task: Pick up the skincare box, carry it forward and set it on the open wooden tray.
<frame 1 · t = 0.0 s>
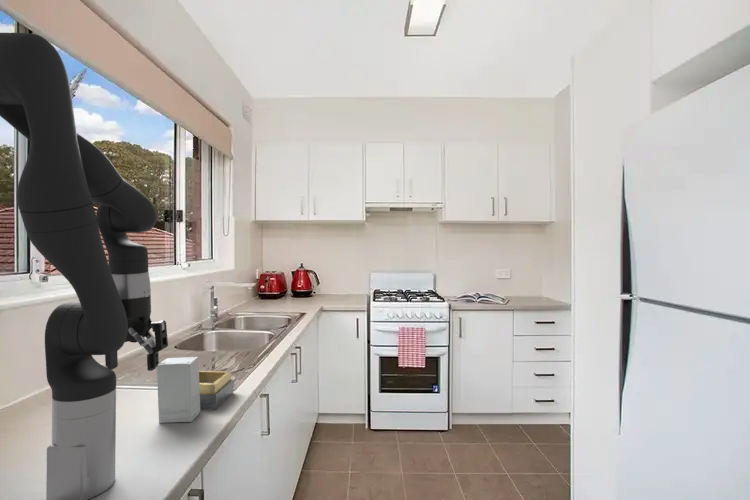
hand: (132, 368, 83), 17 cm above the countertop, tool pointing down, fingers open, 8 cm apart
skincare box: (178, 419, 98), on the countertop
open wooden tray: (200, 400, 110), on the countertop
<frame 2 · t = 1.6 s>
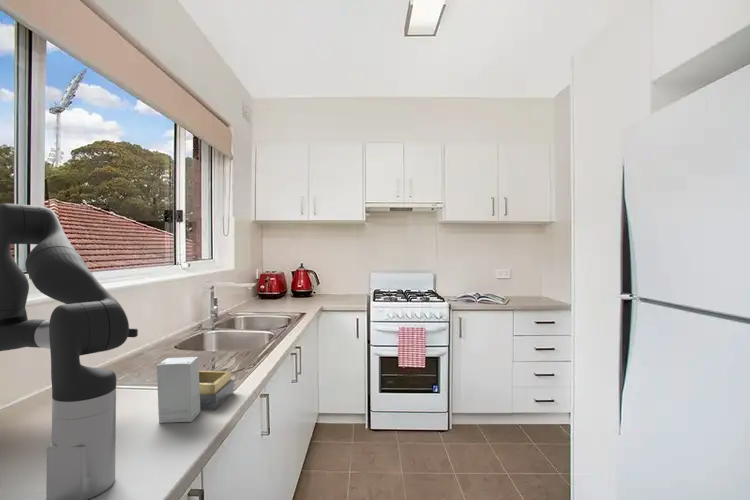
hand: (125, 336, 99), 20 cm above the countertop, tool horizontal, fingers open, 8 cm apart
nothing on the countertop moved.
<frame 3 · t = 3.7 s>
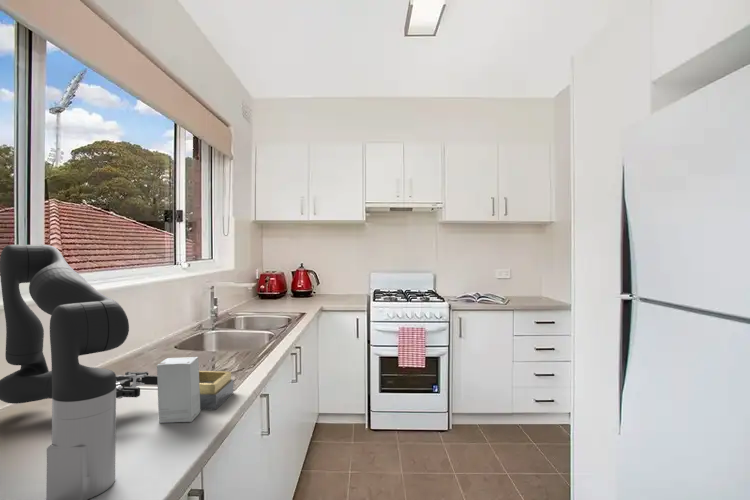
hand: (149, 386, 98), 8 cm above the countertop, tool horizontal, fingers open, 8 cm apart
nothing on the countertop moved.
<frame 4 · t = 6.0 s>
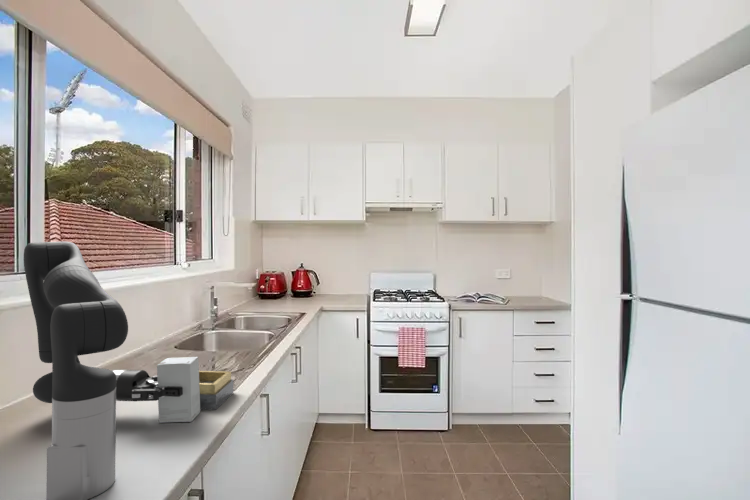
hand: (188, 386, 98), 8 cm above the countertop, tool horizontal, fingers closed on skincare box, 6 cm apart
skincare box: (178, 418, 98), on the countertop, touching gripper
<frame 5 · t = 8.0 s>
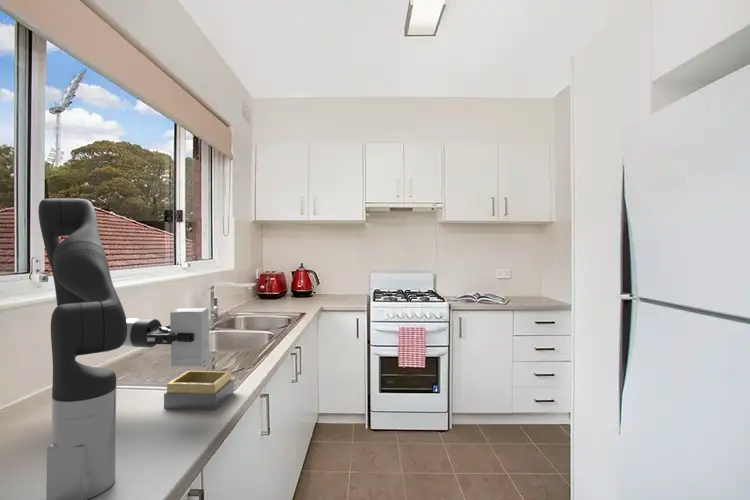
hand: (199, 334, 105), 20 cm above the countertop, tool horizontal, fingers closed on skincare box, 6 cm apart
skincare box: (189, 364, 105), point 11 cm above the countertop, touching gripper
when the fingers open (13 cm above the countertop, at t = 10.5 s): skincare box stays where it is, resting on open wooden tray.
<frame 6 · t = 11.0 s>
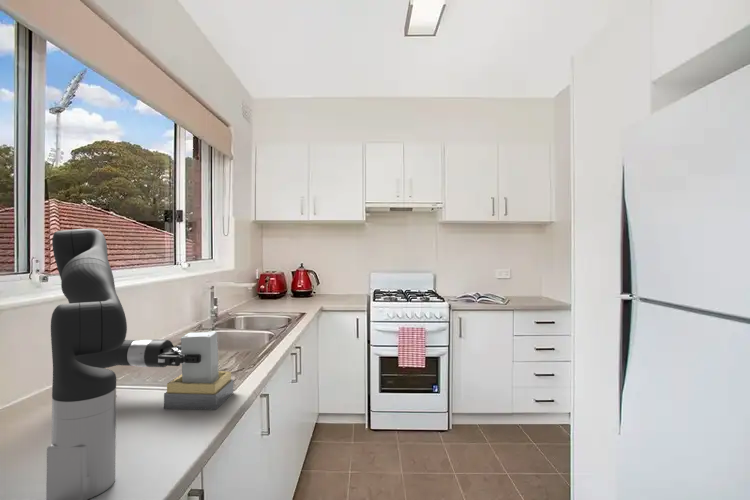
hand: (207, 354, 110), 13 cm above the countertop, tool horizontal, fingers open, 8 cm apart
skincare box: (200, 386, 110), point 4 cm above the countertop, touching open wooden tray
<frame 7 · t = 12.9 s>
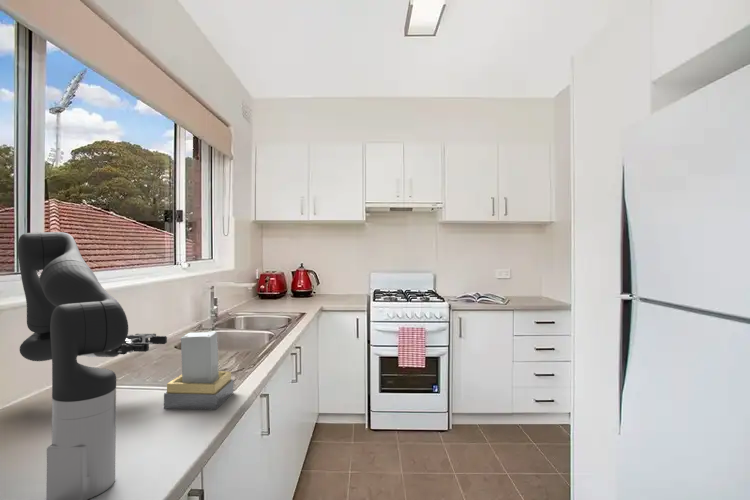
hand: (157, 343, 109), 16 cm above the countertop, tool horizontal, fingers open, 8 cm apart
nothing on the countertop moved.
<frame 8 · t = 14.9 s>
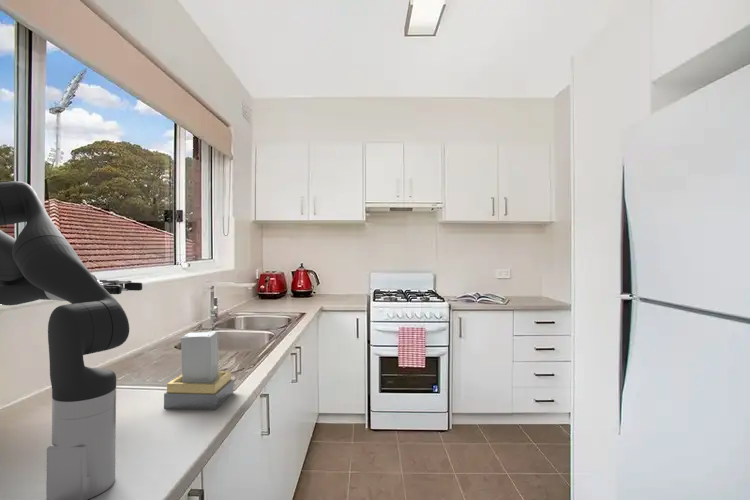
hand: (131, 288, 104), 32 cm above the countertop, tool horizontal, fingers open, 8 cm apart
nothing on the countertop moved.
at the end: skincare box inside the target area on the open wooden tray (0.1 cm from its centre), point 3.8 cm above the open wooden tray's base; skincare box tilted 0°; the gripper is holding nothing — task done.
